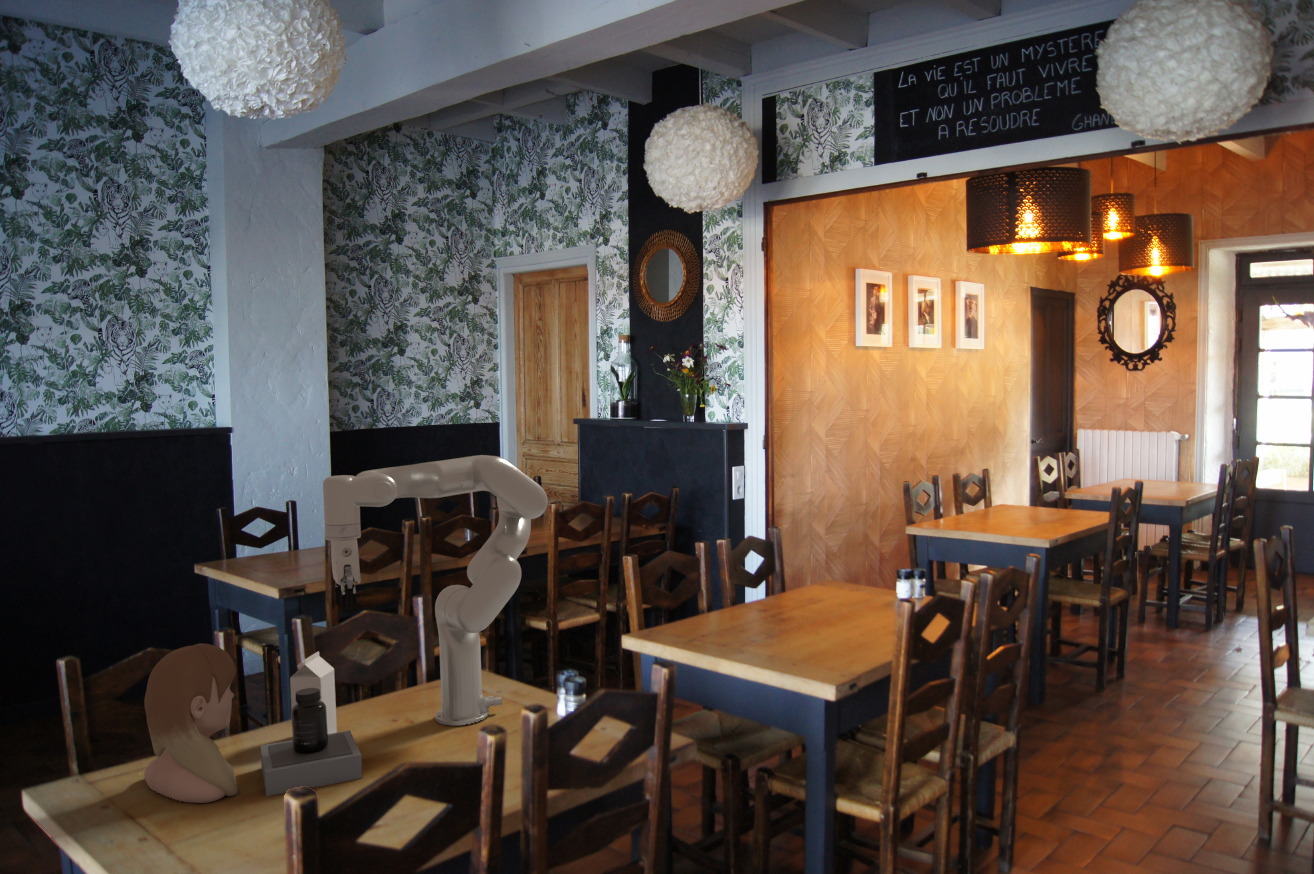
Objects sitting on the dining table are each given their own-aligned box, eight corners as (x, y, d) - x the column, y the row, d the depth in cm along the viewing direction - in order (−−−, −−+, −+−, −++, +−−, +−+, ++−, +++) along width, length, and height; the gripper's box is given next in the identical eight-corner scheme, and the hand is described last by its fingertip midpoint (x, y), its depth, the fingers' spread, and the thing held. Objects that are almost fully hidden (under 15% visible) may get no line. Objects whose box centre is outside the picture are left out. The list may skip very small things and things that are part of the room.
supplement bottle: (298, 742, 200) (296, 686, 199) (332, 741, 200) (329, 684, 200) (288, 755, 193) (285, 696, 192) (322, 753, 193) (320, 695, 193)
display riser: (350, 751, 207) (349, 729, 207) (362, 777, 193) (361, 753, 193) (261, 767, 200) (260, 744, 200) (266, 796, 185) (265, 770, 185)
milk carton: (337, 732, 220) (333, 651, 219) (323, 744, 213) (319, 659, 212) (307, 732, 221) (303, 651, 220) (292, 743, 213) (289, 659, 213)
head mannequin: (274, 780, 192) (263, 644, 190) (192, 815, 178) (178, 668, 176) (208, 756, 206) (197, 629, 204) (127, 787, 193) (114, 651, 191)
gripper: (366, 534, 205) (369, 613, 206) (354, 525, 220) (357, 598, 221) (329, 537, 202) (333, 618, 202) (320, 528, 217) (323, 602, 218)
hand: (346, 608), depth 212 cm, fingers open, 9 cm apart
